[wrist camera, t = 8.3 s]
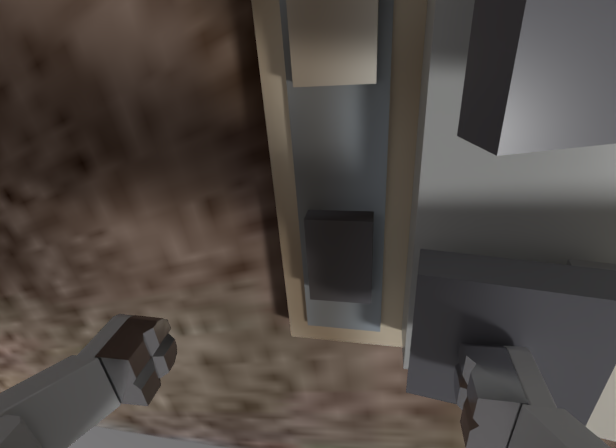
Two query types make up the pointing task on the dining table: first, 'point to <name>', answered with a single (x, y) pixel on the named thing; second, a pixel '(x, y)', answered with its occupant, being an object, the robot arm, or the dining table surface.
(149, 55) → the dining table surface
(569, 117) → the rocker
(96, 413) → the robot arm
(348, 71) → the switch board
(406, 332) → the switch housing
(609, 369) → the rocker
